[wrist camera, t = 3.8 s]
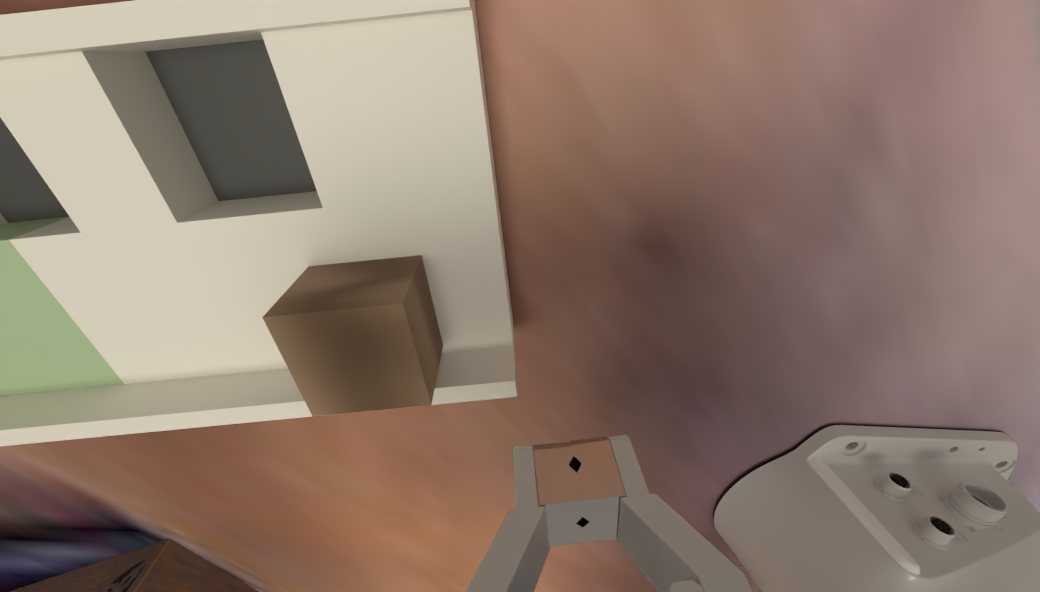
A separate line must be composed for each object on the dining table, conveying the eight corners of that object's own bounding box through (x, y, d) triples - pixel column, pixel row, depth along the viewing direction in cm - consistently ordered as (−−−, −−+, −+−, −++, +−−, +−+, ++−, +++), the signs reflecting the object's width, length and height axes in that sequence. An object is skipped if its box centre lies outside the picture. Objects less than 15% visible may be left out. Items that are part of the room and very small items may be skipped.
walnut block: (421, 255, 18) (402, 303, 14) (443, 345, 20) (431, 404, 17) (308, 266, 18) (262, 317, 14) (344, 354, 20) (312, 416, 17)
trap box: (472, -15, 15) (460, -47, 11) (513, 328, 24) (517, 396, 19) (-249, 62, 16) (-574, 65, 11) (41, 374, 24) (-72, 453, 19)
